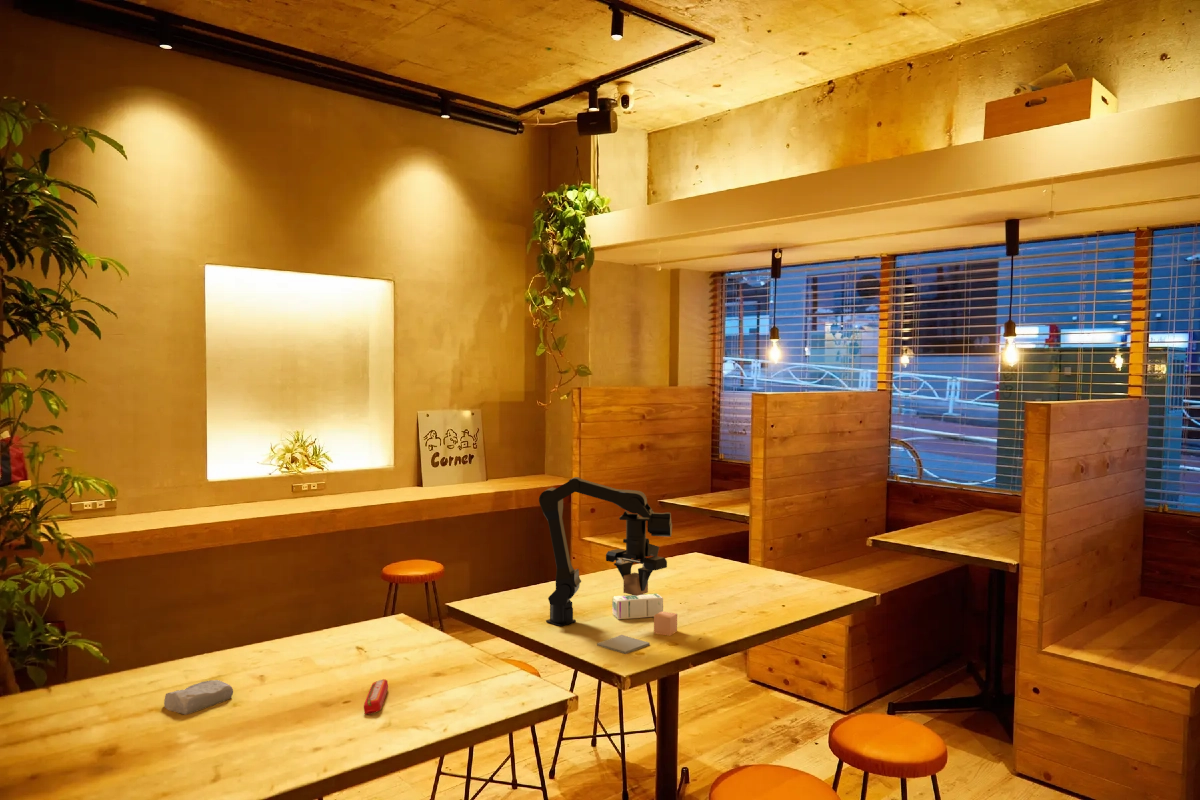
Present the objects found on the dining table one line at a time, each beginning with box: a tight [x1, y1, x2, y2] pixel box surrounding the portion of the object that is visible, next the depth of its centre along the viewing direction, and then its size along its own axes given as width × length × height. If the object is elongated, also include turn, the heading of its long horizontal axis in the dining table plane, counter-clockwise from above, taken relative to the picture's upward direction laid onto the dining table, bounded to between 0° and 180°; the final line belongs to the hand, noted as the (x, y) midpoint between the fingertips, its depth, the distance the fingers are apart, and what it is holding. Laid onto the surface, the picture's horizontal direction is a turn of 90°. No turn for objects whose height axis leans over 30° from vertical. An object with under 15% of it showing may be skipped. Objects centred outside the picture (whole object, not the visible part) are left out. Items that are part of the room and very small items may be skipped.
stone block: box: [163, 679, 234, 716], centre depth 180 cm, size 12×5×10 cm
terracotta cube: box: [653, 611, 678, 636], centre depth 231 cm, size 5×5×5 cm
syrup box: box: [611, 592, 664, 620], centre depth 247 cm, size 6×6×14 cm
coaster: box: [596, 634, 650, 655], centre depth 220 cm, size 10×10×1 cm
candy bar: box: [363, 678, 389, 715], centre depth 181 cm, size 16×4×3 cm, turn 8°
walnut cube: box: [623, 572, 649, 596], centre depth 236 cm, size 5×5×5 cm
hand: (635, 589), depth 236 cm, fingers closed on walnut cube, 5 cm apart
